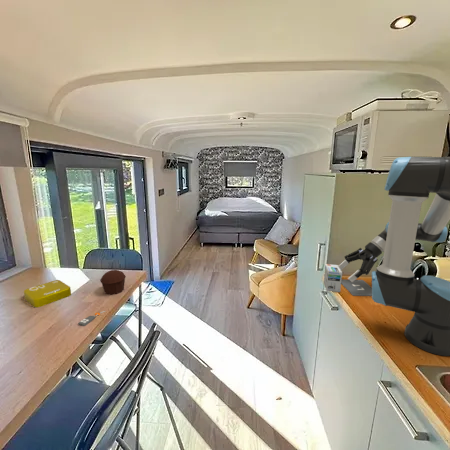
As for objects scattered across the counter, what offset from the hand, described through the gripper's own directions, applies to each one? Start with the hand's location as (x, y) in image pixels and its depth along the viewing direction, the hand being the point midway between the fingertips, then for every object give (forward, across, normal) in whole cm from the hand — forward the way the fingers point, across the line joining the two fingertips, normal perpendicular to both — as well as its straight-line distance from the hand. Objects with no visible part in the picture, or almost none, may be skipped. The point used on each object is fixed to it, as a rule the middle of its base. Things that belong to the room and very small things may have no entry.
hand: (343, 274), depth 132 cm
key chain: (+86, -28, +76) cm, 119 cm away
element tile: (+106, -12, +97) cm, 145 cm away
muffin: (+86, -6, +78) cm, 116 cm away
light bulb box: (+9, 0, -1) cm, 9 cm away
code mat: (-1, 0, -11) cm, 11 cm away
